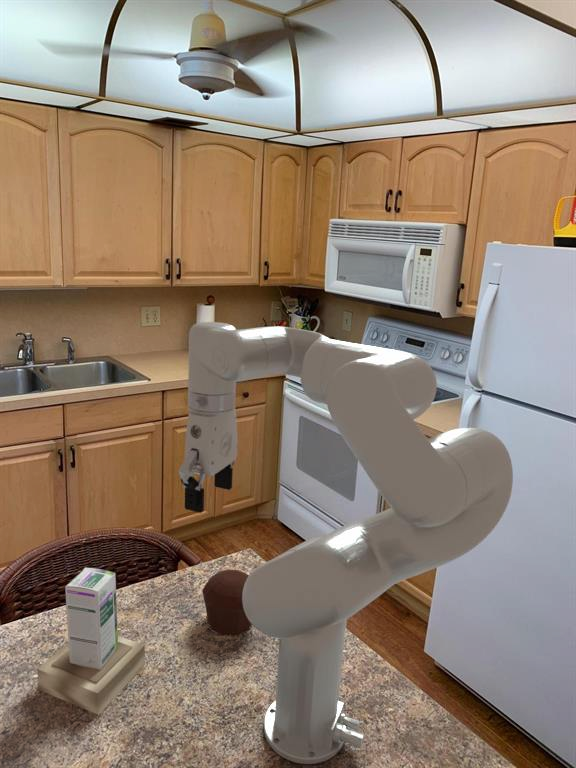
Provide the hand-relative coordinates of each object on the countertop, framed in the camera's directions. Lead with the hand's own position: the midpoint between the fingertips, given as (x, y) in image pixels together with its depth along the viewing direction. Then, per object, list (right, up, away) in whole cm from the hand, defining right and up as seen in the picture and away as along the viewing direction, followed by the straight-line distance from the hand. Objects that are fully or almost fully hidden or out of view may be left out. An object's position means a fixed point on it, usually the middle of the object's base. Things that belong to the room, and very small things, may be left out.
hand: (209, 498), depth 96 cm
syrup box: (-19, -26, -1) cm, 32 cm away
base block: (-20, -30, 0) cm, 36 cm away
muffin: (+2, -28, +16) cm, 32 cm away
